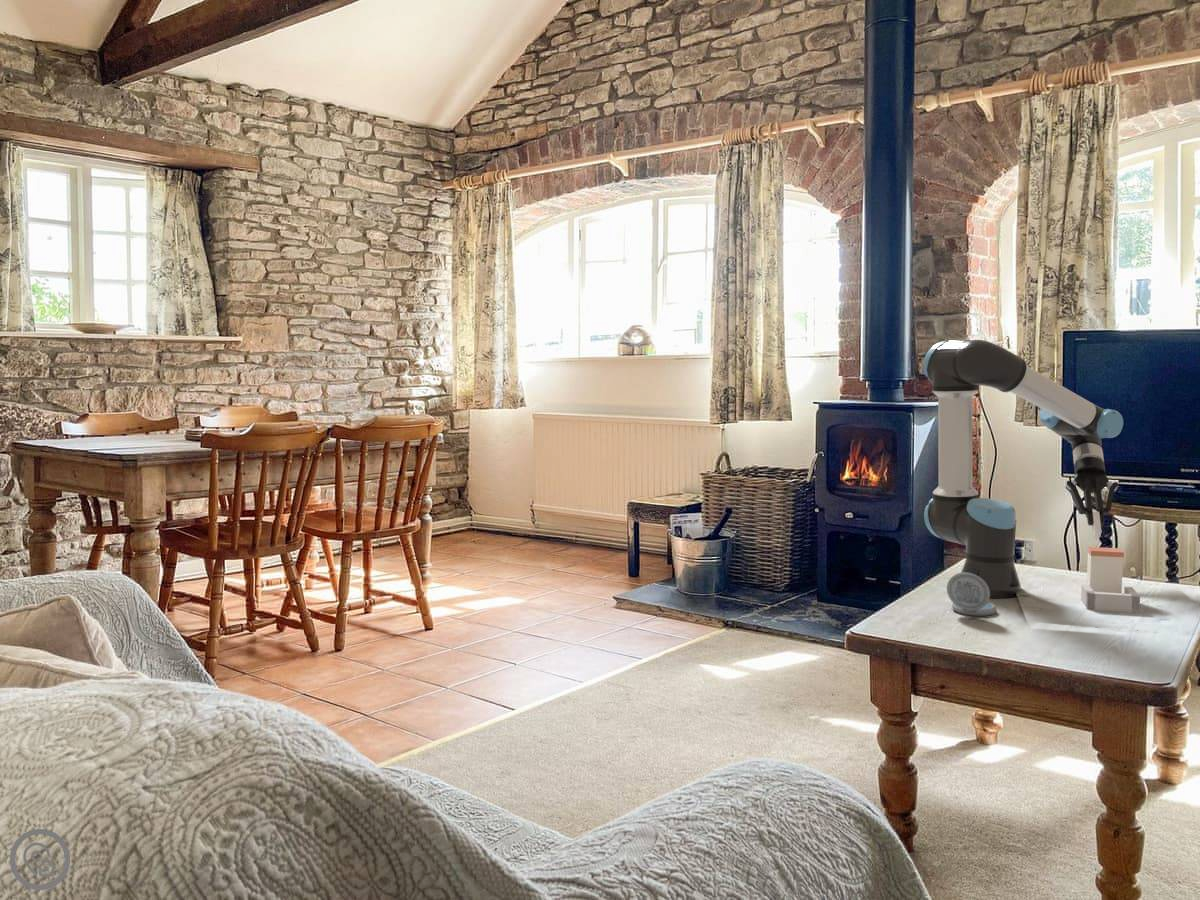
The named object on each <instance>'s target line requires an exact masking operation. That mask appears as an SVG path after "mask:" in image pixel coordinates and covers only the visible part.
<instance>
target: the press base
mask: <svg viewBox="0 0 1200 900" xmlns="http://www.w3.org/2000/svg"><path fill="white" fill-rule="evenodd" d="M1123 590H1124V591H1123V592H1124V593H1108V592H1094V591H1093V590H1092V588H1091V587H1090V586H1089V585H1087V583H1084V584H1082V583H1081V591H1080V592H1081V593H1080V600H1081V602H1082V604H1083V605H1084V607H1085V609H1086V610H1096V611H1107V612H1110V611H1111V612H1122V613H1123V612H1126V613H1140V608H1141V607H1140V606H1141V605H1140V603H1141V595H1140V594H1138V592H1137V591H1136V590H1135V589H1134V588H1133V586H1124V589H1123Z"/></svg>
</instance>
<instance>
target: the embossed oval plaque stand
mask: <svg viewBox="0 0 1200 900" xmlns="http://www.w3.org/2000/svg"><path fill="white" fill-rule="evenodd" d="M946 592H947V595H948V598H949V600H950V601H951V602H952V605H951V608H952V610H953V611H955V612H956V613H959V614H962V615H966V616H975V617H985V616H986V617H988V616H992V615H994V614H996V613H997V607H996V605H995V604H994V603H991V602H989V601H990V599H991V598H990V590H989V587H988V585H987V584H986V582H985V581H984V580H983V579H982V578H980V577H979V576H977V575H975V574H972V573H968V572H962V573H961V572H958V573H956V574H954V575H952V576H951V577H950V578H949V579H948V582H947V585H946Z"/></svg>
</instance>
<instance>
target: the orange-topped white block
mask: <svg viewBox="0 0 1200 900" xmlns="http://www.w3.org/2000/svg"><path fill="white" fill-rule="evenodd" d="M1124 556H1125V552H1124V551H1123V550H1122V549H1121V548H1118V547H1097V546H1095V547H1094V546H1087V564H1086V566H1087V567H1086V568H1087V569H1086V585H1089V586H1090V587H1091V588H1092V590H1093V591H1094V592H1108V593H1122V591H1123V590H1122V588H1123V571H1124V569H1123V566H1124V558H1125V557H1124Z"/></svg>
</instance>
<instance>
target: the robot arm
mask: <svg viewBox="0 0 1200 900" xmlns="http://www.w3.org/2000/svg"><path fill="white" fill-rule="evenodd" d="M922 367H923V369H922V370H923V372H924V375H925V377H927V380H928V381H929V382H931V384H932V385H931V386H932V387H931V388H932V393H933V394H934V395H935V396H936V397H937V399H938V401H937V405H938V406H937V408H938V411H937V413H938V414H937V415H938V416H937V417H938V418H937V419H938V420H937V421H938V423H937V425H938V427H937V429H938V430H937V431H938V434H937V436H938V437H937V439H938V441H937V442H938V443H937V444H938V445H937V446H938V447H937V448H938V450H937V451H938V453H937V454H938V486H937V487H936V488H935V489H934V490H933V491H932V498H931V499H930V500H929V501H928V504H927V505H926V506H925V508H924V512H923V514H924V515H923V518H924V519H923V520H924V523H925V525H926V528H927V530H928V531H929V533H931V535H933V536H934V537H936V538H938V539H940V540H943V541H945V542H952V543H956V544H959V545H963V546H965V562H964V563H963V566H962V568H961V572H960V573H962V572H968V573H972V574H975V575H977V576H979V577H980V578H982V579H983V580H984V581H985V582H986V584H987V585H988V587H989V590H990V598H989V599H991V598H993V599H1007V598H1016V597H1017V596H1018V594H1017V593H1019V592H1021V589H1022V588H1021V587H1022V586H1021V582H1020V579H1019V575H1018V572H1017V569H1016V566H1015V551H1016V550H1015V549H1016V548H1015V547H1016V545H1015V544H1016V529H1017V528H1016V527H1017V519H1016V510H1015V508H1014V506H1013V505H1012V504H1010V503H1008V502H1006V501H1004V500H999V499H992V498H989V497H988V498H985V497H979V491H978V490H976V488H975V487H974V486H973V397H974V396H975V395H976V394H977V393H978V392H979V386H985V387H990V388H993V389H996V390H998V391H1000V392H1002V393H1012V394H1013V395H1016V396H1018V397H1019V398H1021V399H1023V400H1025V401H1027V402H1029V403H1030V404H1032V405H1034V406H1035V407H1038V408H1040V409H1041V410H1040V411H1039V413H1038V414H1039V415H1038V418H1039V421H1040V422H1041V424H1043V425H1044V426H1045V427H1046V428H1047V429H1048V430H1051V431H1052V432H1054V433H1055V434H1056V435H1058V436H1060V437H1061V438H1063V439H1065V441H1067V442H1068V443H1070V444H1071V450H1072V457H1073V458H1072V459H1073V468H1074V478H1073V480H1067V481H1066V484H1065V489H1066V490H1067V491H1068V493H1070V495H1071V498H1072V500H1073V502H1074V505H1075V507H1076V510H1077V512H1078V514H1079V515H1085V518H1087V521H1086V522H1087V525H1088V526H1091V527H1092V534H1093V535H1092V536H1093V538H1095V539H1100V538H1101V536H1102V535H1101V534H1102V527H1104V524H1105V516H1109V515H1110V512H1111V509H1112V504H1113V498H1114V495H1115V493H1116V491H1117V489H1118V487H1119V483H1118V482H1117V481H1113V482H1112V481H1110V479H1109V478H1108V476H1107V475H1106V474H1107V473H1106V466H1105V459H1104V451H1103V446H1102V445H1103V443H1102V439H1106V438H1107V439H1112V438H1116V437H1117V436H1119V435H1120V434H1121V432H1122V430H1123V426H1124V418H1123V415H1122V414H1121V413H1120V412H1119V411H1117V410H1116V409H1110V408H1106V409H1105V408H1102V407H1100V406H1098V405H1097V404H1095V403H1093V402H1091V401H1089V400H1087V399H1085V398H1084V397H1082V396H1081V395H1078V393H1077V394H1076V393H1075V392H1073V391H1072V390H1070V389H1068V388H1066V387H1064V386H1063V385H1061V384H1059V383H1057V382H1056V381H1054V380H1052V379H1050V378H1049V377H1047V376H1045V375H1044V374H1042V373H1040V372H1038V371H1037V370H1035V369H1033V368H1032V367H1030V366H1028V363H1027V361H1026V360H1025V359H1024V358H1023V357H1020V356H1018V355H1017V354H1015V353H1013V352H1012V351H1010V350H1008V349H1006V348H1003V347H1001V346H1000V345H998V344H995V343H993V342H990V341H988V340H984V339H965V340H964V339H950V340H943V341H939V342H937V343H935V344H934V345H932V347H931V348H930V349H929V350H928V351H927V353H926V354H925V357H924V359H923V366H922ZM1077 487H1078V488H1079V489H1080V490H1081V491H1082V492H1083V497H1084V502H1083V500H1082V497H1081V495H1080V492H1079V490H1078V488H1077ZM1105 487H1107V490H1108V493H1107V498H1106V503H1105V507H1104V503H1103V502H1104V501H1103V496H1102V495H1103V494H1102V491H1103V490H1104V489H1105ZM1092 493H1093V495H1094V496H1093V497H1094V501H1095V510H1096V511H1093V508H1094V507H1093V501H1092Z"/></svg>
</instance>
